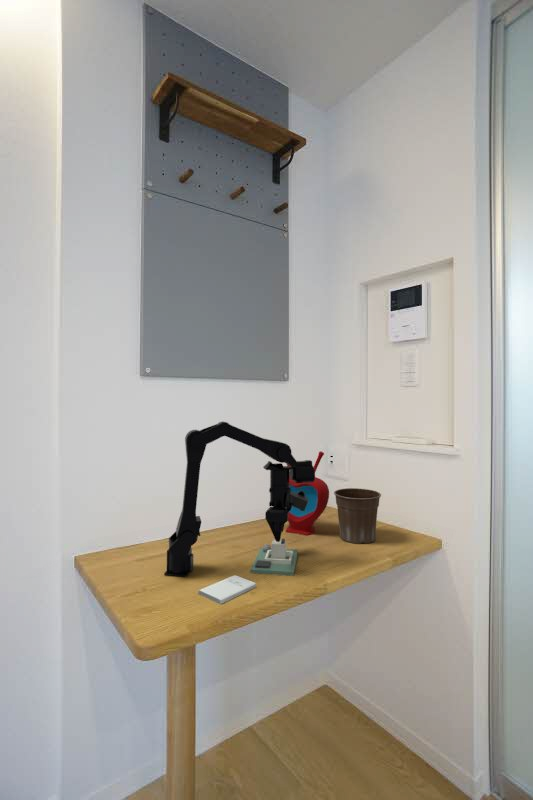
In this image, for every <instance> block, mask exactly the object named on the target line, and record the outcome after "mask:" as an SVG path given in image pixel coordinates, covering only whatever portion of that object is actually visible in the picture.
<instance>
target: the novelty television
mask: <svg viewBox="0 0 533 800" xmlns="http://www.w3.org/2000/svg"><path fill="white" fill-rule="evenodd" d="M324 455H325V453H324V452H323V451H319V452H318V455H317V458H316V460H315V463H314V464H313V468H314V472H315V473H316V471H317V469H318V467H319V465H320V462H321V460H322V458H323V456H324ZM286 466H291V465H288V464H286ZM289 470H290V469H289ZM289 486H290V488H291V492H294V493H295V492H296V493H298V492H299V491H300V490H301V491H304V492H305V497H307V498H308V503H307V506H306V508H305V511H301V510H300V509H298V508H296V507H293V506H292V508H291V510H290V511H289V512H288V521H287V522H288V523H289V526H288V527H286V529H285V531H286V532H285V533H290V532H291V534H292V533H293V534H297V533H298V534H297V535H302V534H303V536H309V535H311V534H312V535H313V534H314V533H316V527H315V526H314V524H315V522H316V521H317V520H318V519H319V518H320V516H321V515H322V514H323V513H324V511H325V510H326V508H327V505H328V503H329V498H330V489H329V486H328V484H327V483H326V482H325V481H324V480H323V479H321V478H318V477H316V476H315V480H314V482H313V483H294V482H293V480H290V476H289Z"/></svg>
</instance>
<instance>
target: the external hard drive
mask: <svg viewBox="0 0 533 800" xmlns="http://www.w3.org/2000/svg"><path fill="white" fill-rule="evenodd" d="M255 588H257V583H256V582H254V581H251V580H249V579H246V578H244V577H241V576H238V575H231V576H229V577H227V578H225V579H223V580H220V581H217V582H214V583H212V584H211V585H208V586H206V587H203V588H202V589H198V591H197V592H198V595H199V594H200V596H201V595H202V597H204V598H206V599H208V600H210V601H213V602H215V603H217V604H219V605H223V604H225V603H227V602H229V601H231V600H233V599H234V598H237V597H239V596H241V595H243V594H245V593H247V592H249V591H251V590H253V589H255ZM226 601H227V602H226ZM224 602H225V603H224ZM222 603H223V604H222Z"/></svg>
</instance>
